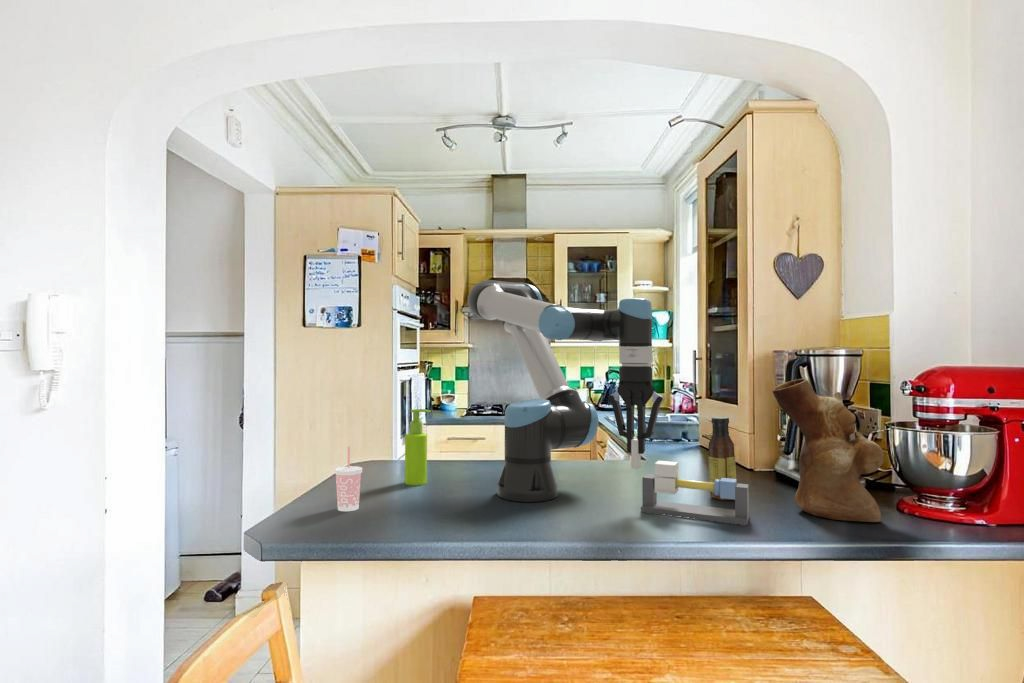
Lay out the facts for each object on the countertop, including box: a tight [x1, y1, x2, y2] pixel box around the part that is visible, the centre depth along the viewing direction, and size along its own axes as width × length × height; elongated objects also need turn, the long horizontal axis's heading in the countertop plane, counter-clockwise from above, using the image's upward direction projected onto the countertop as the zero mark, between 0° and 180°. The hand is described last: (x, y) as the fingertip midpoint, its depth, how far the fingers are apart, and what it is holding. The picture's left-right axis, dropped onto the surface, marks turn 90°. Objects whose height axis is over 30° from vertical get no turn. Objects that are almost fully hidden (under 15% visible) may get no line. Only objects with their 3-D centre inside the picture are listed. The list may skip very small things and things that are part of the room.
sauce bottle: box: [707, 416, 737, 501], centre depth 140 cm, size 7×6×20 cm
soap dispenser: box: [404, 408, 432, 486], centre depth 154 cm, size 6×7×20 cm
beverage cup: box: [334, 446, 363, 512], centre depth 129 cm, size 6×6×14 cm
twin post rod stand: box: [640, 473, 750, 526], centre depth 125 cm, size 22×7×8 cm, turn 64°
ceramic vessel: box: [771, 378, 885, 523], centre depth 126 cm, size 16×22×30 cm
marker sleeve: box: [654, 460, 679, 496], centre depth 128 cm, size 4×4×6 cm
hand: (636, 467), depth 131 cm, fingers closed
